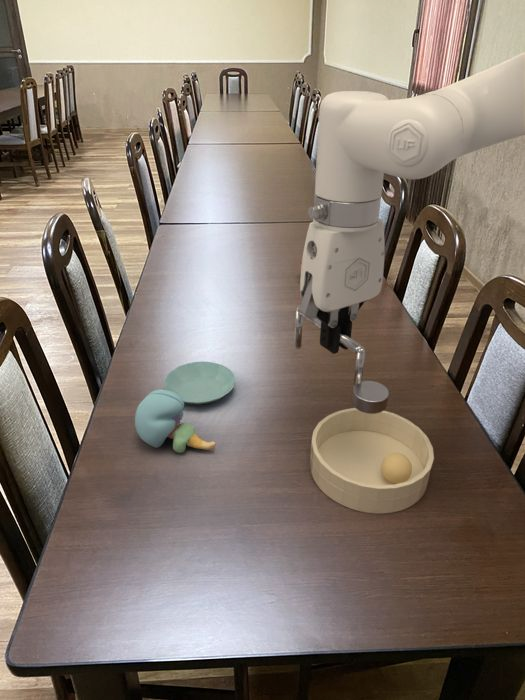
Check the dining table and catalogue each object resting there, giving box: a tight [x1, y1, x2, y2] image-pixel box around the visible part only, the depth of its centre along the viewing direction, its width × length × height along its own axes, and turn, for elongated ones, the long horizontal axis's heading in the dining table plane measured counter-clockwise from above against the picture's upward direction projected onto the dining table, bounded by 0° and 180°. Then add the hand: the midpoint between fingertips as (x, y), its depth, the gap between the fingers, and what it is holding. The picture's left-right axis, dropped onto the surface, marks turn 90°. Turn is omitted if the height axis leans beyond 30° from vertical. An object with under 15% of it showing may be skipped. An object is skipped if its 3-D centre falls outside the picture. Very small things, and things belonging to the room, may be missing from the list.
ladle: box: [294, 305, 390, 414], centre depth 72 cm, size 18×4×7 cm, turn 33°
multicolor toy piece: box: [134, 388, 216, 454], centre depth 77 cm, size 7×9×12 cm
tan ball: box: [381, 453, 412, 483], centre depth 72 cm, size 4×4×4 cm
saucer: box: [163, 361, 236, 405], centre depth 90 cm, size 12×12×2 cm
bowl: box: [309, 407, 435, 515], centre depth 74 cm, size 16×16×4 cm
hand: (334, 346), depth 72 cm, fingers closed on ladle, 1 cm apart
